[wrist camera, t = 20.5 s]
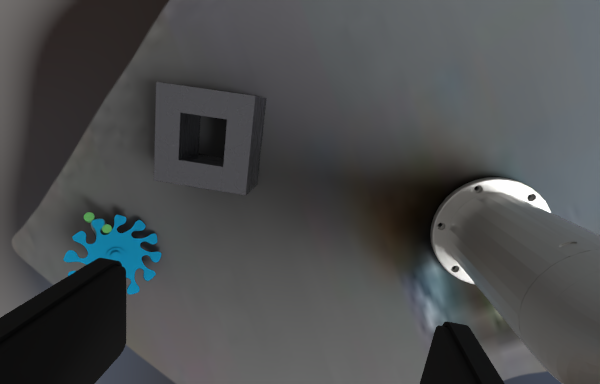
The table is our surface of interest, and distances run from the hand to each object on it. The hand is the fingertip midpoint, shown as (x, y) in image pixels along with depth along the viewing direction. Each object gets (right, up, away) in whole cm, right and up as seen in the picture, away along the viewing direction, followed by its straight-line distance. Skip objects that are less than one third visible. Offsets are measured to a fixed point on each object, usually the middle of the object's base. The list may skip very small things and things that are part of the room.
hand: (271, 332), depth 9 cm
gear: (-21, -2, +33) cm, 39 cm away
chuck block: (-8, +11, +28) cm, 31 cm away
